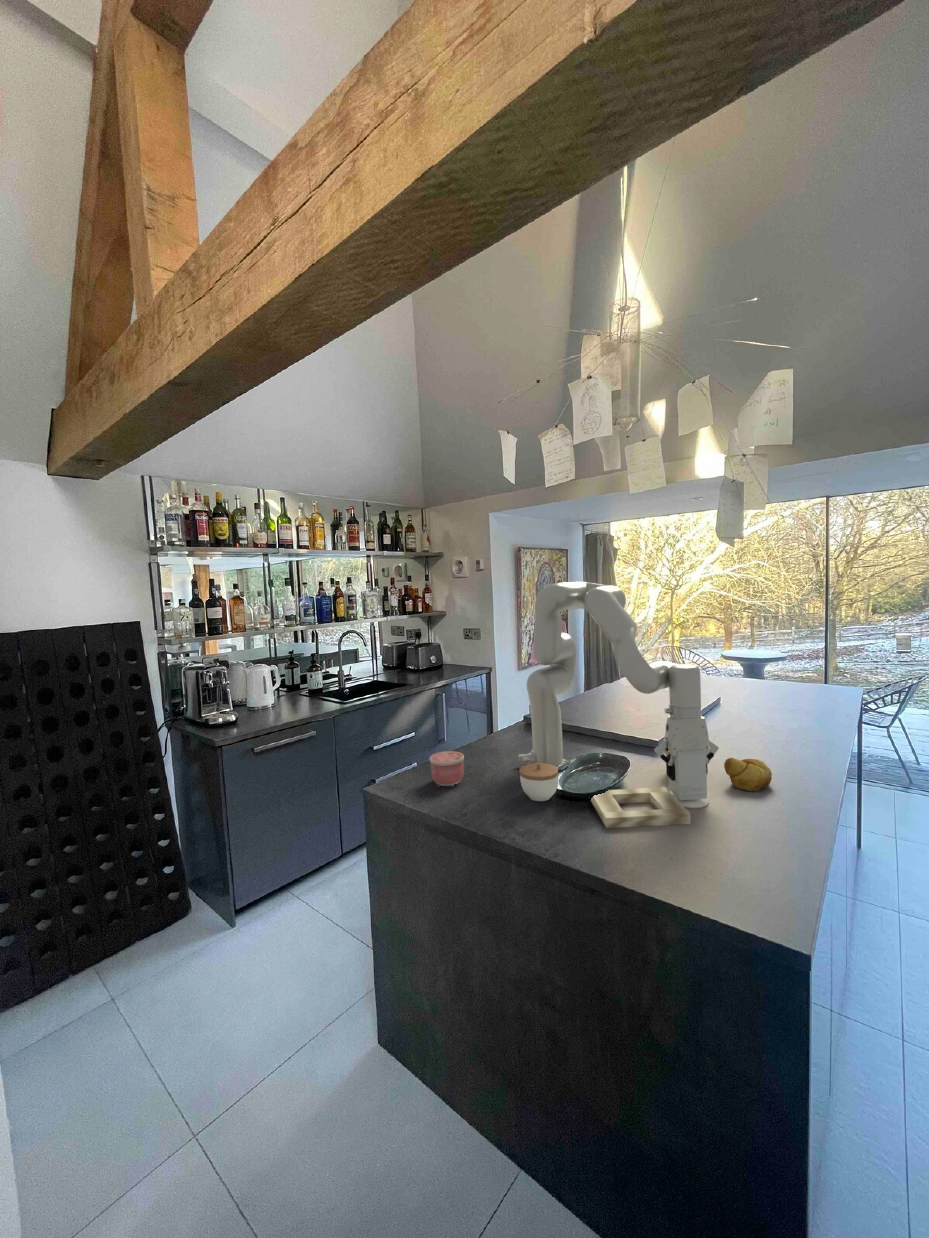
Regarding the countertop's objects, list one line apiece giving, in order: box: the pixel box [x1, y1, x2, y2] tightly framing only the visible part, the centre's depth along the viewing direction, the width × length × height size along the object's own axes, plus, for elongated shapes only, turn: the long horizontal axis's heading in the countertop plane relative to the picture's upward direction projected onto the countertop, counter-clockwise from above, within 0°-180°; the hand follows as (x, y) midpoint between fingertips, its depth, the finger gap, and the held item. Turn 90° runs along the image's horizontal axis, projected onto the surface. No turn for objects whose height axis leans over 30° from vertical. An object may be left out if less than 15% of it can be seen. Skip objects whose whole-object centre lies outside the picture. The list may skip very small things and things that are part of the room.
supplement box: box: [668, 750, 708, 800], centre depth 135 cm, size 7×7×13 cm
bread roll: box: [723, 757, 773, 792], centre depth 142 cm, size 13×10×8 cm
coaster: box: [669, 791, 710, 809], centre depth 136 cm, size 10×10×1 cm
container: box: [429, 750, 465, 785], centre depth 157 cm, size 10×10×8 cm
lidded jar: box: [518, 763, 559, 802], centre depth 142 cm, size 11×11×9 cm
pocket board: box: [590, 786, 691, 829], centre depth 131 cm, size 20×16×2 cm
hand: (687, 777), depth 135 cm, fingers closed on supplement box, 7 cm apart
